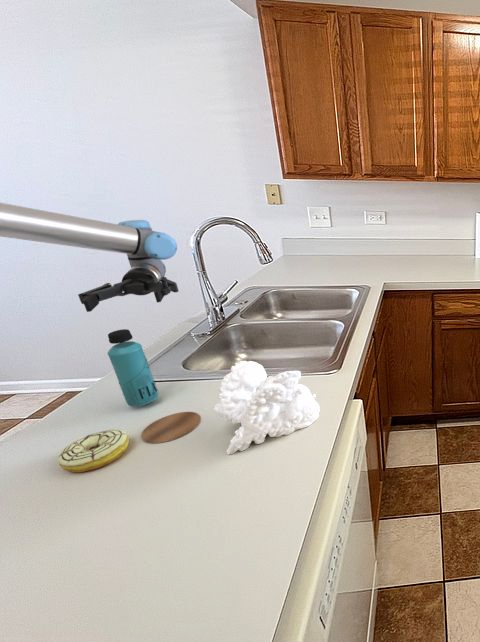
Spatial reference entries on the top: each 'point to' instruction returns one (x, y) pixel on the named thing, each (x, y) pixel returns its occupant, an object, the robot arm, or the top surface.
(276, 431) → the white ornate sculpture
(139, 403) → the beverage bottle
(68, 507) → the top surface
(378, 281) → the top surface
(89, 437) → the decorated donut
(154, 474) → the top surface
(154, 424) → the cork coaster
